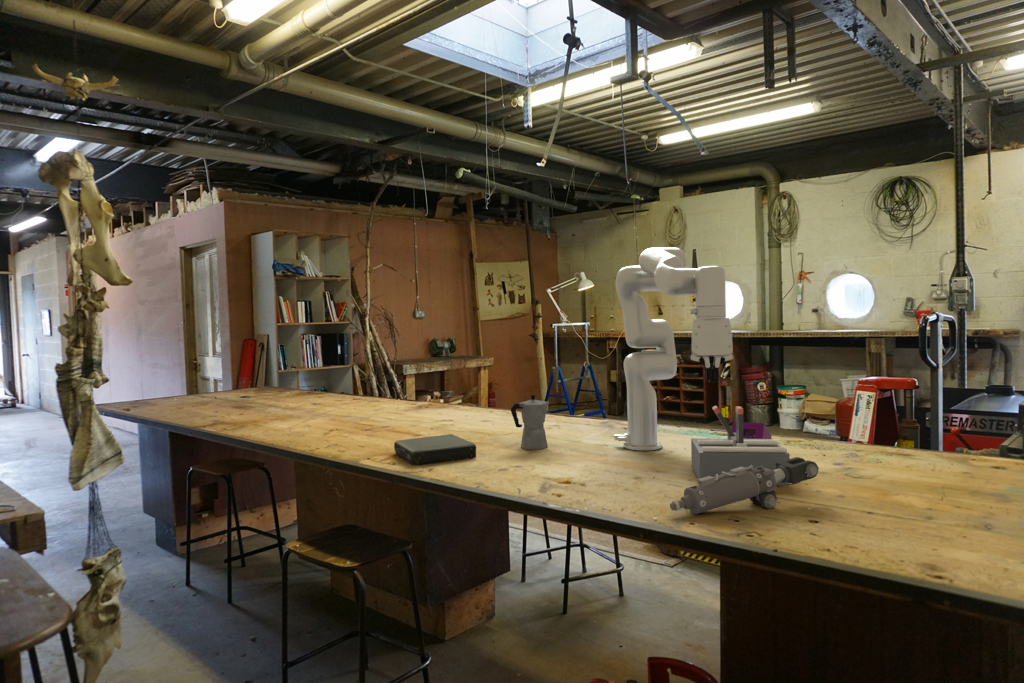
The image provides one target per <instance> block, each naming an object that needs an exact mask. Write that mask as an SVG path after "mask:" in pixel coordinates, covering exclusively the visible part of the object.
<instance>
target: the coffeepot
mask: <svg viewBox="0 0 1024 683" xmlns="http://www.w3.org/2000/svg"><path fill="white" fill-rule="evenodd" d="M549 404H550V402H549V401H545V400H544V401H543V400H538V399H536V394H534V393H533V394H530V399H528V400H525V401H522V402H517V403H514V404H513V405H512V406H511V408H510V413H511V415H512V418H513V420H514V424H515V427H516V428H522V427H523V429H522V435H521V442H520V447H521V448H522V449H523V448H524V450H529V449H532V450H531V451H534V449H538V450H544V449H546V448H548V441H547V436H546V430H545V427H544V423H545V422H546V415H547V407H548V406H549ZM517 409H519V410H520V413H521V419H522V423H523V424H522V423H521V424H520V423H519V418H518V413H517Z"/></svg>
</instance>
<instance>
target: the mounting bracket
mask: <svg viewBox="0 0 1024 683" xmlns="http://www.w3.org/2000/svg"><path fill="white" fill-rule="evenodd" d="M731 423H732V424H731V425H732V426H731V430H732V431H733V433H736V421H732V422H731ZM743 430H744V439H773V438H772V434H771V432H770V431H769V429H768V428H767V425H765V423H761V422H749V421H748V422H745V421H743Z"/></svg>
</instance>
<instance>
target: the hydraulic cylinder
mask: <svg viewBox="0 0 1024 683" xmlns="http://www.w3.org/2000/svg"><path fill="white" fill-rule="evenodd" d="M819 470H820V468H819V466H818V464H817V462H815V461H812V460H805V459H804V458H803V457H799V456H796V457H795V456H794V457H792V458H790V459H788V460H785V461H780V462H777V463H776V469H775V470H770V469H768V468H764V467H763V466H760V467H756V468H753V466H752V465H750V466H749V467H746V468H745V467H739V468H735V469H732V470H730V472H728V473H726V472H722V475H718V474H716V476H715V477H711V476H708V477H704V478H701V479H698V478H697V480H696V481H697V482H696V483H697V484H695V485H693V486H689V487H686V488H684V490H683V496H681V497H680V500H678V499H677V500H673V501H671V502H670V503H669V506H670V507H669V508H670V509H671V511H672V512H673V511H675V512H678V511H680V510H681V509H684V510H689V512H690V513H691V514H693V515H698V514H701V513H705V512H708V511H711V510H715V509H717V508H721V507H724V506H728V505H730V504H731V505H732V504H735V503H737V502H741V501H744V500H746V499H749V501H750V502H752V503H754V504H757V505H759V504H760V506H761V507H762V508H765V509H769V510H770V509H773V508H774V507H775V506H776V505H777V504H781V502H780V501H778V500H779V499H778V498H777V493H776V492H777V490H778V487H777V485H776V483H777V482H780V481H781V482H783V483H784V482H789V483H790V484H792V485H796V484H799V483H800V484H801V483H802V482H805V481H808V480H811V479H814V478H816V477H817V476H818V474H819ZM722 477H723V478H722ZM700 483H701V484H700Z"/></svg>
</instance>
